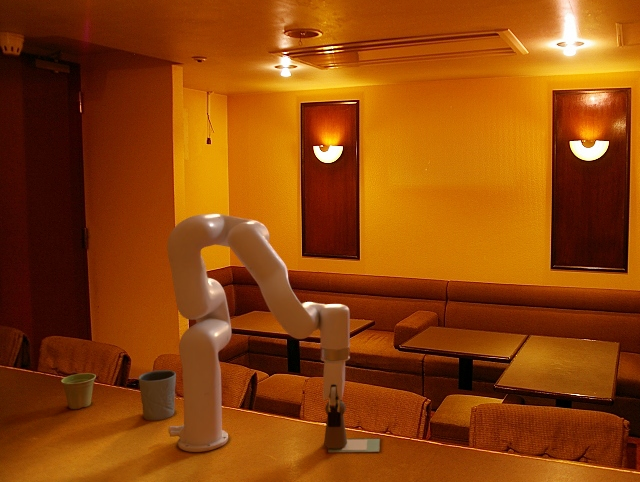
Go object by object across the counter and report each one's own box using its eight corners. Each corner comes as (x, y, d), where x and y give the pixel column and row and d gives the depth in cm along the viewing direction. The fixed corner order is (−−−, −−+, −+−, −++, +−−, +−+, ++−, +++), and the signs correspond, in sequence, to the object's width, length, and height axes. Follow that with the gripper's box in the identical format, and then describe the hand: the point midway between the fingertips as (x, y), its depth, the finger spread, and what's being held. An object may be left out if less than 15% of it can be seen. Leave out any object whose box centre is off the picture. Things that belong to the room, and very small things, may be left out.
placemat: (328, 452, 154) (328, 451, 154) (330, 439, 161) (330, 438, 161) (379, 452, 154) (379, 451, 154) (379, 439, 161) (379, 438, 161)
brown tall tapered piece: (343, 449, 154) (343, 406, 153) (320, 447, 155) (320, 405, 154) (349, 439, 160) (349, 398, 159) (328, 437, 161) (327, 396, 160)
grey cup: (183, 413, 180) (183, 373, 179) (154, 424, 171) (153, 383, 171) (162, 406, 185) (161, 367, 185) (132, 417, 177) (131, 376, 176)
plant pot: (86, 411, 181) (85, 383, 181) (55, 411, 181) (54, 383, 181) (102, 400, 190) (101, 373, 190) (72, 400, 191) (71, 373, 190)
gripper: (324, 344, 164) (324, 409, 165) (316, 362, 147) (317, 435, 148) (351, 344, 165) (351, 409, 166) (347, 362, 147) (347, 435, 149)
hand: (335, 421), depth 157 cm, fingers closed on brown tall tapered piece, 5 cm apart
